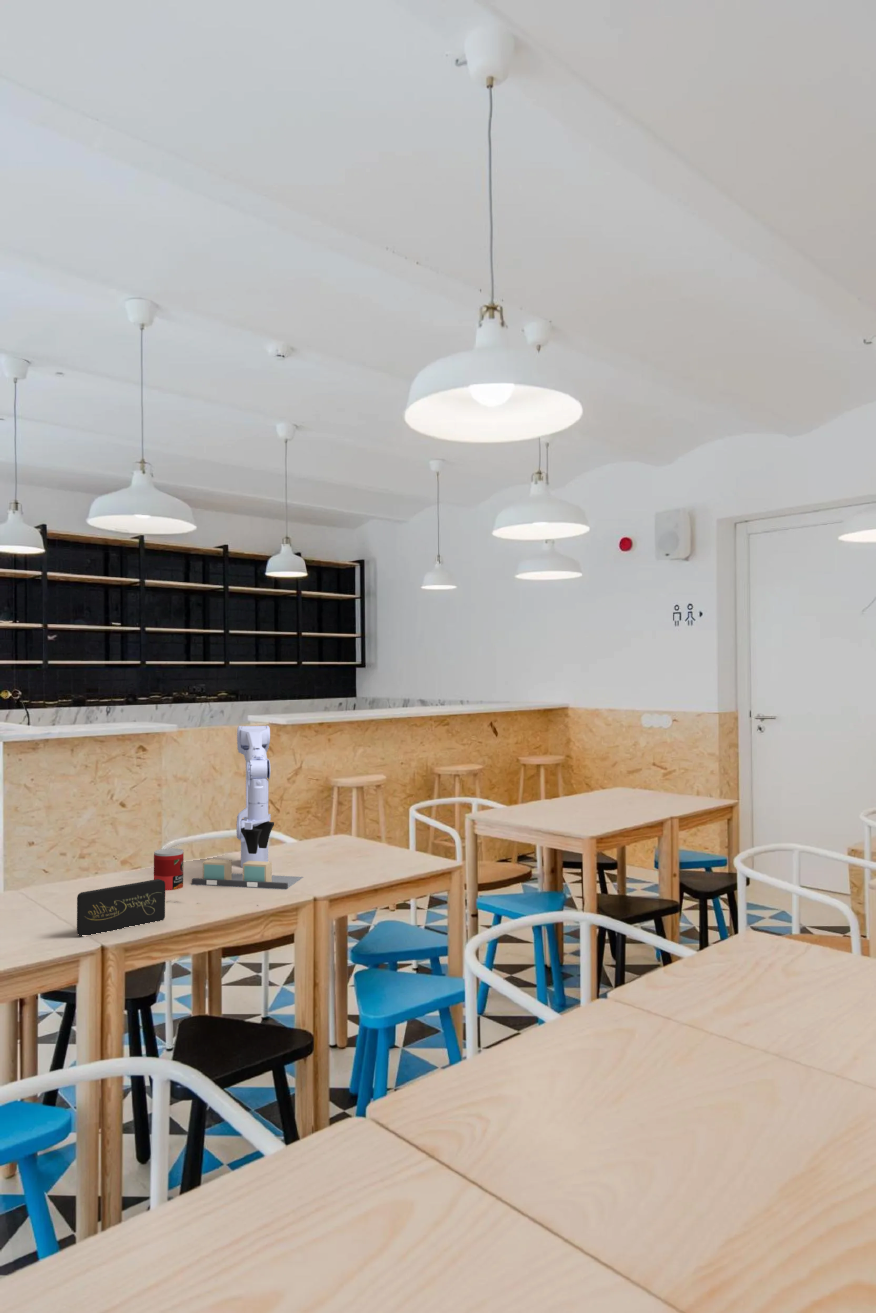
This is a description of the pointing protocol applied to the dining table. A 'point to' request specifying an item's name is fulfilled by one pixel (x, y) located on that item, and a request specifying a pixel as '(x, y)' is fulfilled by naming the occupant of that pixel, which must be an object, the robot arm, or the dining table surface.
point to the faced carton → (217, 869)
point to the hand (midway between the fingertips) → (257, 850)
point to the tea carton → (257, 871)
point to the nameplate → (120, 907)
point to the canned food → (169, 867)
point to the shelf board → (249, 882)
